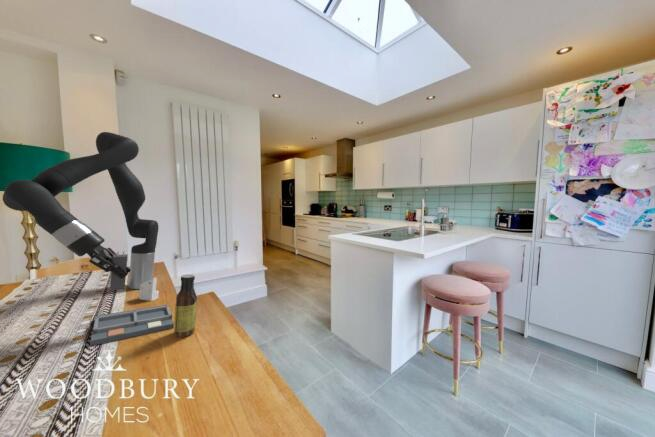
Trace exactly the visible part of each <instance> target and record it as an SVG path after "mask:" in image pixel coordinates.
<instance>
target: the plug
mask: <svg viewBox="0 0 655 437" xmlns="http://www.w3.org/2000/svg"><path fill="white" fill-rule="evenodd" d="M116 254H117V255H113V259H114V262H115V263H116V264H117V265H118V267H121V268H122V269H123V270H124V271H126V267H128V266H127V265H128V254H125V250H122V254H119V250H117V251H116ZM125 287H126V276H125V277H124V278H123V279H121V278H119V277H118V276H117V275H115V274H114V273H113V272H110V283H109V291H119V290H125Z"/></svg>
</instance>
